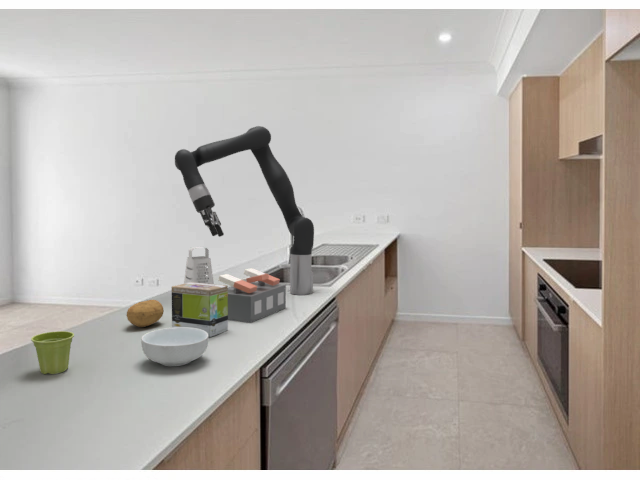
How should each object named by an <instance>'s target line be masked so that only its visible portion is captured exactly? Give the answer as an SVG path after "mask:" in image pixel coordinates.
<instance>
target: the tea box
mask: <svg viewBox="0 0 640 480" xmlns="http://www.w3.org/2000/svg"><path fill="white" fill-rule="evenodd" d="M228 287H229V285H228V284H215V283H214V284H205V283H194V282H190V283H185V284H184V283H181V284H177V285H172V286H171V328H173V327H190V328H197V329H201V330H204V331H206V332H207V333H208V338H210V337H214V336H217V335H219V334H222V333H225V332H226V331H228V329H229V320H228Z"/></svg>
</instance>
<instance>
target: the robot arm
mask: <svg viewBox="0 0 640 480" xmlns="http://www.w3.org/2000/svg"><path fill="white" fill-rule="evenodd" d="M271 141H272V134H271V132H270V131H269V129H268V128H266V126H265V127H264V126H259V125H257V126H254V127H251V128H249V129H248V130H247V131H246V132H244V133H243V134H240V135H237V136H234V137H230V138H225V139H221V140H216V141H213V142H210V143H206V144H203V145H200V146H198V147H197V148H196V149H195V150H192V151H190V150H187V149H185V148H183V149H182V148H181V149H180V150H178V151H176V153H175V155H174V165H175V168H176V169H177V170H178V171H179V172H180V173H181V175H182V178H183V183H184V185H185V187H186V189H187V191H188V195H189V198H190V200H191V202H192V204H193V206H194V209H195V211H196V212H197V213H198V214H200V215H201V218H202V220H203V223H204V226H206V227H207V229H209V232H210V234H211V236H212V237H215V236H218V237H219V238H221V237H223V236H224V231H223V229H222V227H221V226H222V223H221V221H220V219H219V216H218V214H217V212H216V211H213V210H212V208H214V207H215V202H214V199H213V197H212V195H211V193H210V190H209V189H208V187H207V186H206V183H205V181H204V179H203V177H202V175H201V174H200V171H199V169H198V167H201V166H203V165H205V164H208V163H212V162H215V161H218V160H220V159H223V158H226V157H229V156H231V155H234V154H237V153H241V152H245V151H249V150H250V151H251V153H252V154H253V156H254V157H255V159H256V162H257V163H258V165H259V167H260V170H261V174H262V175H263V178H264V179H265V182H266V184H267V186H268V189H269V190H270V192H271V194H272V196H273V198H274V199H275V202H276V204H277V205H278V208H279V209H280V211H281V214H282V216H283V218H284V220H285V221H284V222H285V224H286V228H287V229H288V232H289V234H290V235H291V236H292V237H293V244H292V246H291V247H290V257H289V258H290V259H289V260H290V261H289V263H290V264H289V269H290V270H289V294H291V295H297V296H298V295H299V296H303V295H304V296H305V294H306V295H310V294H313V293H314V271H312V260H313V259H312V256H313V255H312V254H313V253H312V252H313V249H314V241H315V240H314V238H315V227H314V222H313V221H312V220H311V219H310V218H308V217H304V216H303V215H302V214H301V211H300V210H299V208H298V206H297V203H296V198H295V192H294V188H293V187H294V186H293V185H292V182H291V180H290V178H289V176H288V174H287V172H286V171H285V169H284V167H283V166H282V165H281V163H280V162H279V161H278V160H277V159H276V157H275V156H274V154H273V152H272V150H271V147H270V143H271ZM312 292H313V293H312ZM309 293H310V294H309Z"/></svg>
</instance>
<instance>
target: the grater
mask: <svg viewBox="0 0 640 480" xmlns="http://www.w3.org/2000/svg"><path fill="white" fill-rule="evenodd" d="M194 249H204V250H205V251H204V252H205V253H204V255H203V256H199V255H198V256H193V250H194ZM209 253H210V251H209V248H208V247H206V246H205V247H204V246H193V247H190V248H189V249H188V256H186V265H185V274H184V280H183V284H185V283H190V282H194V283H205V284H215V283H214V274H213V268H212V266H213V265H212V261H211V257H210V256H209V255H210V254H209Z"/></svg>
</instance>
